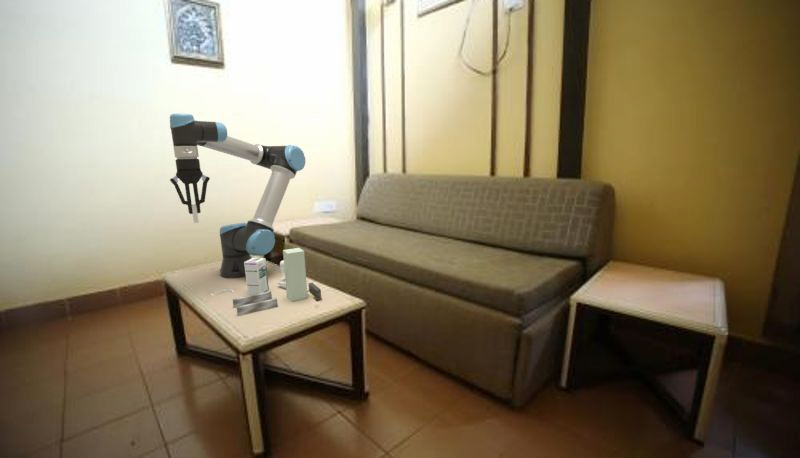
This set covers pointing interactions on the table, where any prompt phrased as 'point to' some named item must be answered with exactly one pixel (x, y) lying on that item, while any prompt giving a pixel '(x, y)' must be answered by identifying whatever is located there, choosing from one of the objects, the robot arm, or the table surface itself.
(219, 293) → the phone case
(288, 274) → the block
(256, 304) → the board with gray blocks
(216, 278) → the table surface
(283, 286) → the figurine
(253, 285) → the syrup box
